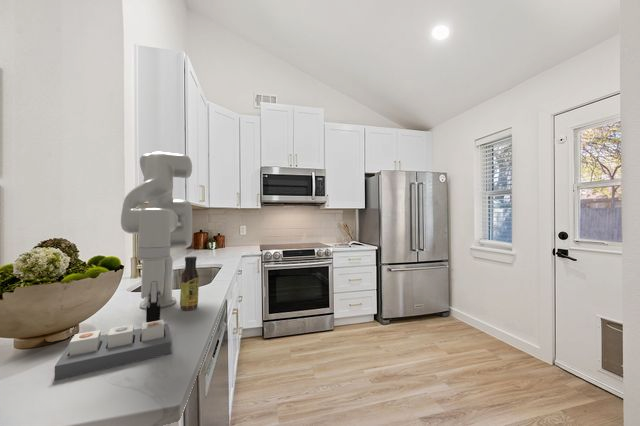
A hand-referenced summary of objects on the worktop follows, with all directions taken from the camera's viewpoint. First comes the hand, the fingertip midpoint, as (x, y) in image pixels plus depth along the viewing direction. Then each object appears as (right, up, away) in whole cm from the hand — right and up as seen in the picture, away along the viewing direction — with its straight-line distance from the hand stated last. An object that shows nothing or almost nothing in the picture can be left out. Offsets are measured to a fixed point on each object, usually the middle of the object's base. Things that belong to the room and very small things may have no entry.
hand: (153, 320), depth 73 cm
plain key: (-6, -5, -4) cm, 9 cm away
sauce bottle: (-5, -8, +30) cm, 31 cm away
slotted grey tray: (-6, -7, -4) cm, 10 cm away
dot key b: (-12, -5, -7) cm, 15 cm away
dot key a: (0, -5, 0) cm, 5 cm away
